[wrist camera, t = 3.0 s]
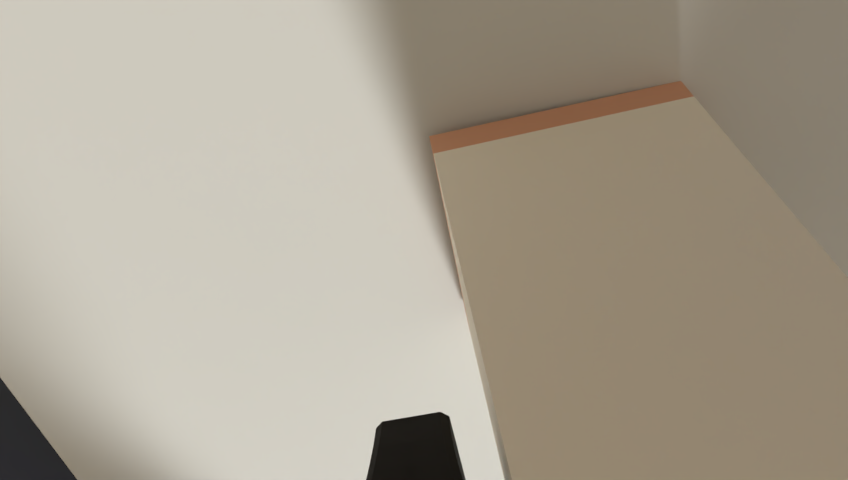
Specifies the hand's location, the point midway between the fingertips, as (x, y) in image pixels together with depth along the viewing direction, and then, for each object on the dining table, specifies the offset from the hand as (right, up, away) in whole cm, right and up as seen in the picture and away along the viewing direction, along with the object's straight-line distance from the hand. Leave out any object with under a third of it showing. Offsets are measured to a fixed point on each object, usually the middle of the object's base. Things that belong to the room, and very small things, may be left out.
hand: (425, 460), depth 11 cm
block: (+3, +4, +4) cm, 6 cm away
